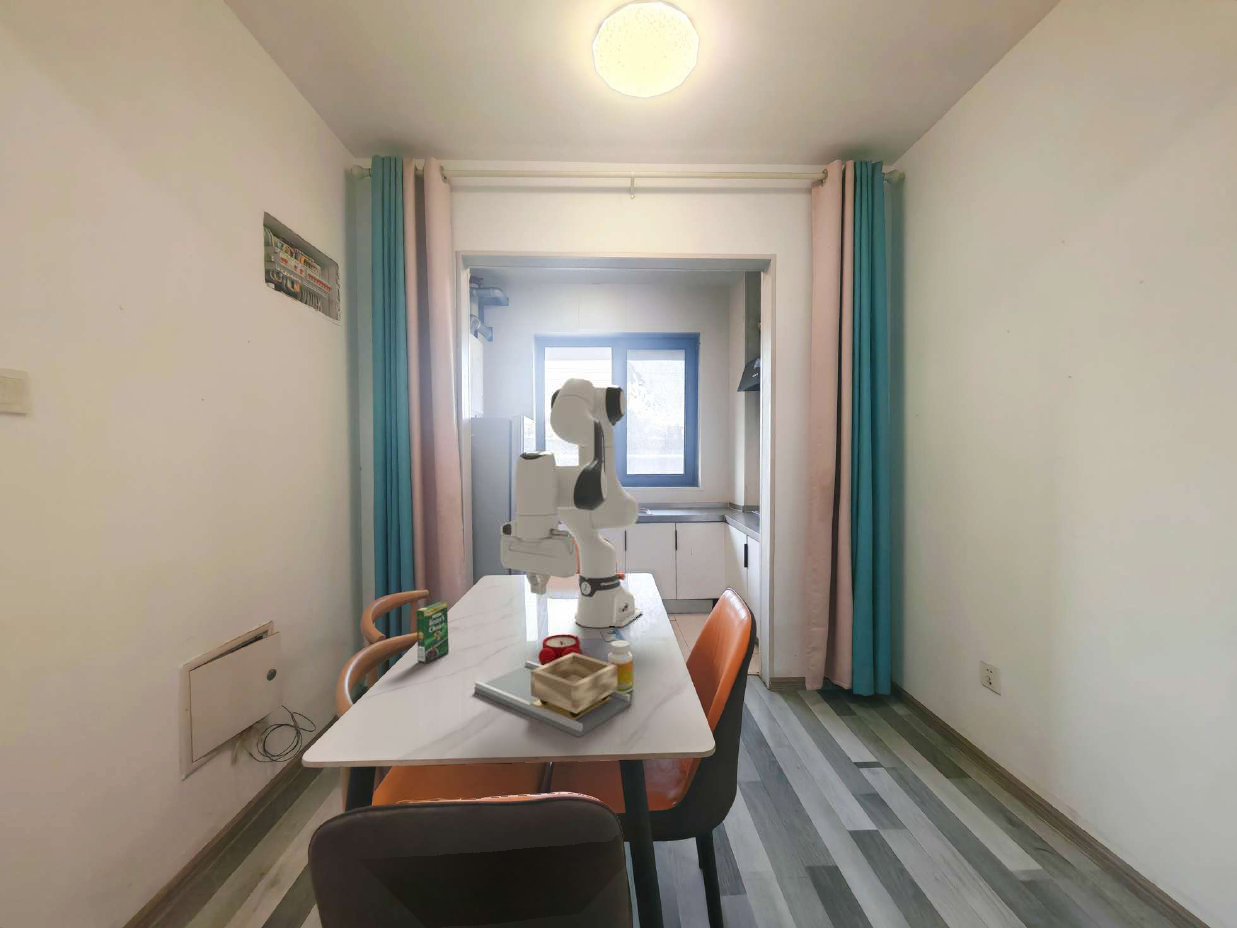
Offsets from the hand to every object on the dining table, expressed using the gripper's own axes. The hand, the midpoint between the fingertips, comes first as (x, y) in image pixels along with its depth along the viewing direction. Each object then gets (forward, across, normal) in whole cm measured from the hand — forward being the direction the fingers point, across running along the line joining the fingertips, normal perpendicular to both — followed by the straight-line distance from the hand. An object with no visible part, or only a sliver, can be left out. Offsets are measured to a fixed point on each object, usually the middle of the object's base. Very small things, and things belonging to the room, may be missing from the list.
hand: (538, 593), depth 107 cm
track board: (+21, -4, 0) cm, 21 cm away
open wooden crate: (+20, -11, 0) cm, 22 cm away
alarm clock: (+21, +10, -16) cm, 28 cm away
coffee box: (+21, +36, +3) cm, 42 cm away
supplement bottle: (+21, -12, -12) cm, 27 cm away
